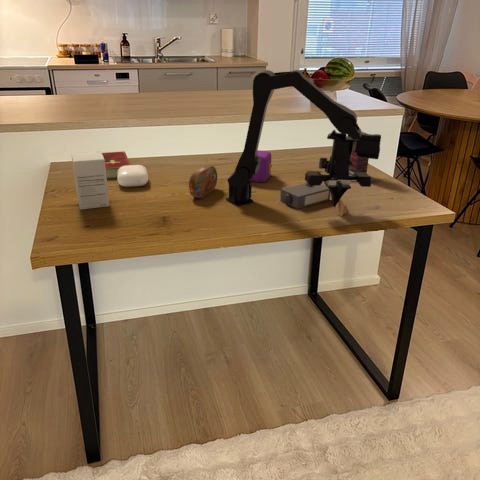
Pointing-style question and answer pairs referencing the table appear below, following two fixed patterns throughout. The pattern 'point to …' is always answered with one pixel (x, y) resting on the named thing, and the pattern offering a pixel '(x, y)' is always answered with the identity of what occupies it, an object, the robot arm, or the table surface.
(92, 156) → the supplement box
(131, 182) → the earbud case
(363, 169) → the supplement box
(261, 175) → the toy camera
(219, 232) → the table surface
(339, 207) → the side door
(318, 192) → the block
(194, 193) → the tin
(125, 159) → the hardcover book
